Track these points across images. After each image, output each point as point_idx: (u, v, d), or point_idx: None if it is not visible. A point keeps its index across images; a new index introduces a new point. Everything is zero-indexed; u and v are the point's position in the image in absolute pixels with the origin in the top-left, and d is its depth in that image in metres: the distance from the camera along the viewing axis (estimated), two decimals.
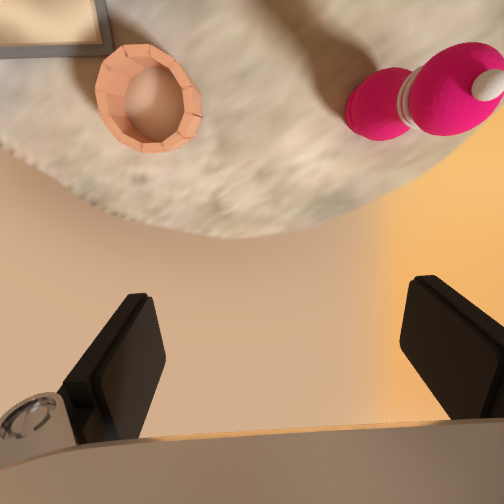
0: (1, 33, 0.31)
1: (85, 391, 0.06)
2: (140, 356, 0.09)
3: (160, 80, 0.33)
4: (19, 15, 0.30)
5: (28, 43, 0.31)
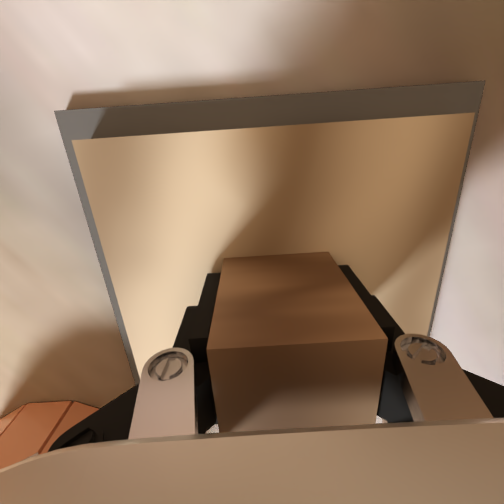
0: (120, 222, 0.10)
1: (205, 347, 0.07)
2: None
3: None
4: (173, 281, 0.11)
5: None
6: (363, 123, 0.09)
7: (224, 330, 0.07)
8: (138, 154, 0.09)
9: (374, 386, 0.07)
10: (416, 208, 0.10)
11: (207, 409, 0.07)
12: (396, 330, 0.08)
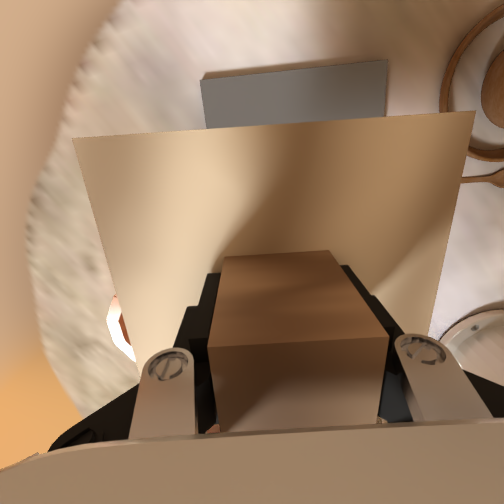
0: (121, 221, 0.10)
1: (205, 347, 0.07)
2: None
3: None
4: (173, 280, 0.11)
5: None
6: (364, 121, 0.09)
7: (225, 328, 0.07)
8: (138, 152, 0.09)
9: (375, 384, 0.07)
10: (417, 206, 0.10)
11: (207, 409, 0.07)
12: (396, 330, 0.08)
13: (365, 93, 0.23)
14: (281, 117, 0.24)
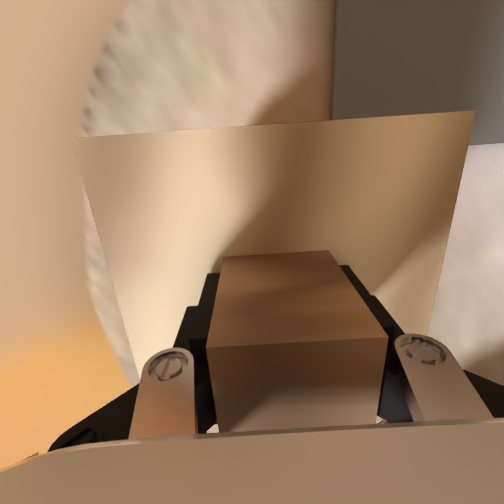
0: (120, 221, 0.10)
1: (205, 347, 0.07)
2: None
3: None
4: (172, 280, 0.11)
5: None
6: (363, 121, 0.09)
7: (224, 328, 0.07)
8: (138, 151, 0.09)
9: (375, 385, 0.07)
10: (416, 206, 0.10)
11: (207, 409, 0.07)
12: (396, 330, 0.08)
13: None
14: None
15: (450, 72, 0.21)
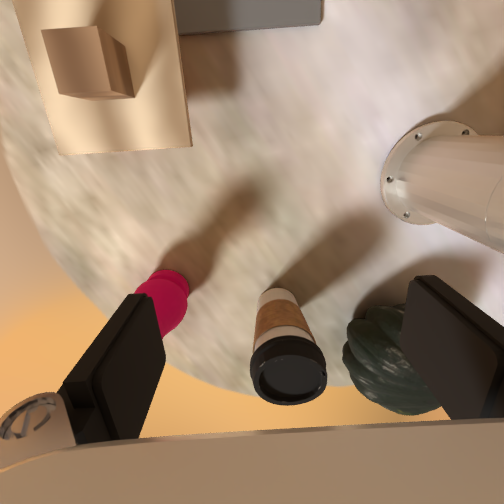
0: (31, 29, 0.24)
1: (85, 391, 0.06)
2: (140, 356, 0.09)
3: None
4: None
5: None
6: None
7: None
8: None
9: (99, 49, 0.21)
10: (157, 22, 0.24)
11: None
12: None
13: None
14: None
15: None
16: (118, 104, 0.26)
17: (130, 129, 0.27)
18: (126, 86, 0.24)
